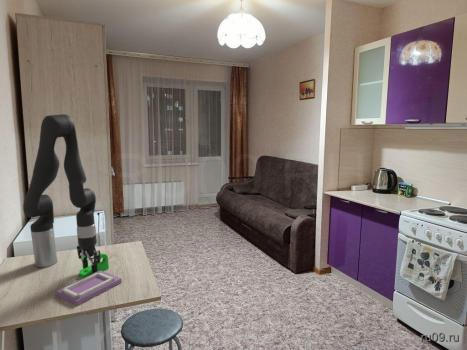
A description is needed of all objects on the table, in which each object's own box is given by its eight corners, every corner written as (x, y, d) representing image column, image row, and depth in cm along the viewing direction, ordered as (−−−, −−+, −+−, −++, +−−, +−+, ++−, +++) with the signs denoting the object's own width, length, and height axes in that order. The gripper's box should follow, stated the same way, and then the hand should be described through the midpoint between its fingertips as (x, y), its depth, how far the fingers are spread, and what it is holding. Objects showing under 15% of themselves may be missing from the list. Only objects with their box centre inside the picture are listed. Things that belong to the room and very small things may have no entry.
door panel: (56, 294, 128) (55, 287, 127) (100, 274, 144) (100, 267, 144) (77, 305, 120) (76, 298, 120) (121, 282, 137) (121, 275, 136)
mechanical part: (100, 265, 153) (99, 249, 151) (108, 268, 149) (107, 252, 148) (76, 276, 143) (74, 259, 141) (84, 279, 139) (83, 262, 138)
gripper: (69, 233, 142) (72, 269, 145) (89, 240, 135) (92, 277, 138) (84, 228, 149) (88, 263, 152) (104, 234, 141) (107, 270, 144)
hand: (90, 269), depth 145 cm, fingers closed on mechanical part, 6 cm apart
